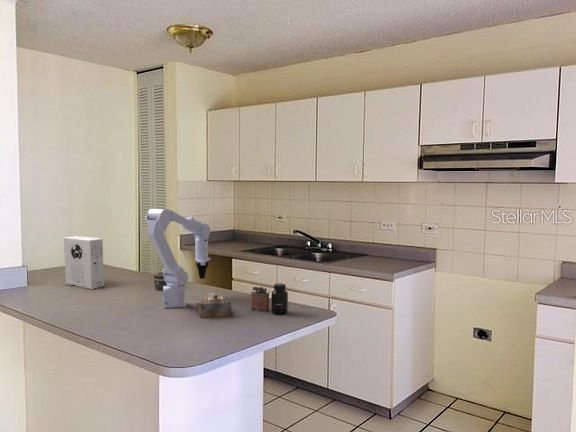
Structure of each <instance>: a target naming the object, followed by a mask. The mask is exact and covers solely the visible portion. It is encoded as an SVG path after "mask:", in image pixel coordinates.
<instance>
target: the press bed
mask: <svg viewBox="0 0 576 432" xmlns="http://www.w3.org/2000/svg"><path fill="white" fill-rule="evenodd" d="M206 298H208V295H205V296H204V295H203V296H202V301H203V302H196V309H197V313H198V316H199V319H202V318H203V319H204V318H217V317H218V318H219V317H220V318H221V317H232V316H233V310H232V302H231V301H227V300H225V301H224V300H223V302H214V303H206Z"/></svg>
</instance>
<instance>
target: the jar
mask: <svg viewBox="0 0 576 432" xmlns="http://www.w3.org/2000/svg"><path fill="white" fill-rule="evenodd" d="M153 282H154V283H153V285H154V289H155V290H156V289H157V290H156V291H160V290H163V286H168V285H167V283H166V282H165V280H164V274H163V272H162V271H161V272H157V273H154V274H153Z"/></svg>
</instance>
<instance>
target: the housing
mask: <svg viewBox="0 0 576 432" xmlns="http://www.w3.org/2000/svg"><path fill="white" fill-rule="evenodd" d="M223 301H224V297H223V296H218V294H215V295H214V297H208V303H214V302H223Z"/></svg>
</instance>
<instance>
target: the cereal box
mask: <svg viewBox="0 0 576 432" xmlns="http://www.w3.org/2000/svg"><path fill="white" fill-rule="evenodd" d="M103 242H104V241H103V238H99V237H91V236H89V237H88V236H80V235H75V236H64V237H63V244H64V246H63V247H64V271H65V272H64V273H65V274H64V275H65V284H66V283H67V284H71V285H76V286H81V287H86V288H91V289H92V288H97V287H101V288H103V287H102V286H104V287H105V278H104V277H105V276H104V272H105V271H104V247H103V245H104V243H103ZM76 286H75V287H76ZM81 287H80V288H81ZM86 288H85V289H86ZM91 289H90V290H91ZM97 289H98V288H97ZM92 290H93V289H92Z"/></svg>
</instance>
